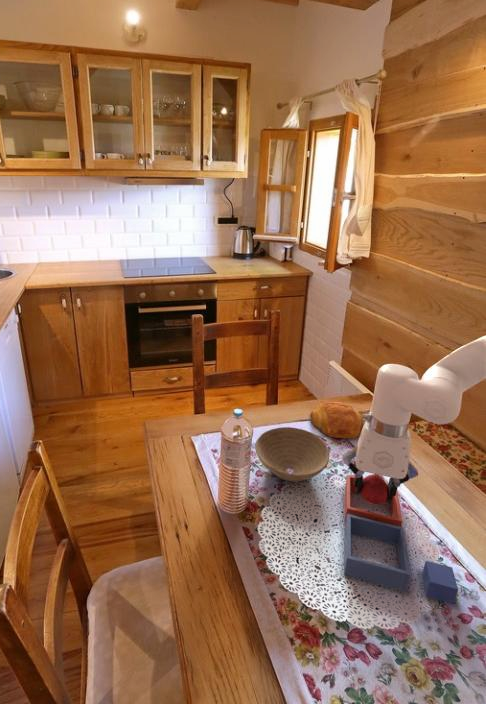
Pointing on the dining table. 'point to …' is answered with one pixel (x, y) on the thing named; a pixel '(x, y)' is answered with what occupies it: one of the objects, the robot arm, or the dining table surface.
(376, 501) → the onion
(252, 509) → the dining table surface
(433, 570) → the blue block
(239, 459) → the water bottle
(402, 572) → the blue bin
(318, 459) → the bowl
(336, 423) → the croissant
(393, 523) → the terracotta bin
